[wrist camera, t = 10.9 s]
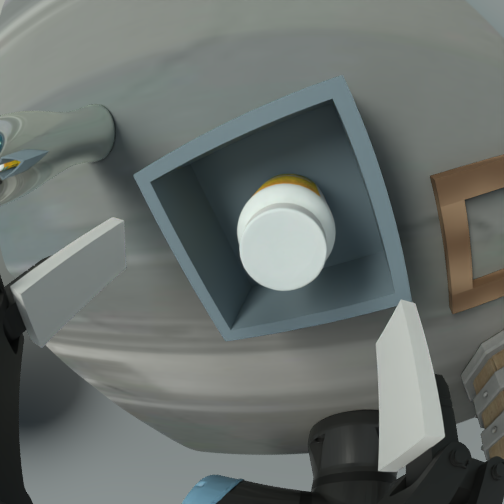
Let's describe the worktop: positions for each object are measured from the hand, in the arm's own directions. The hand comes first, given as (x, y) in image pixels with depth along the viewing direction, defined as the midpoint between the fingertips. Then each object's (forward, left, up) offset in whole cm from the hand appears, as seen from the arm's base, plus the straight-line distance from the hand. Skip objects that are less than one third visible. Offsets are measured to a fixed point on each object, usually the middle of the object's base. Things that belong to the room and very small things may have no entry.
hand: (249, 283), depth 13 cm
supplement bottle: (0, 0, -11) cm, 11 cm away
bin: (0, 0, -12) cm, 12 cm away
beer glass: (+14, +15, -12) cm, 24 cm away
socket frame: (-8, -18, -12) cm, 23 cm away
